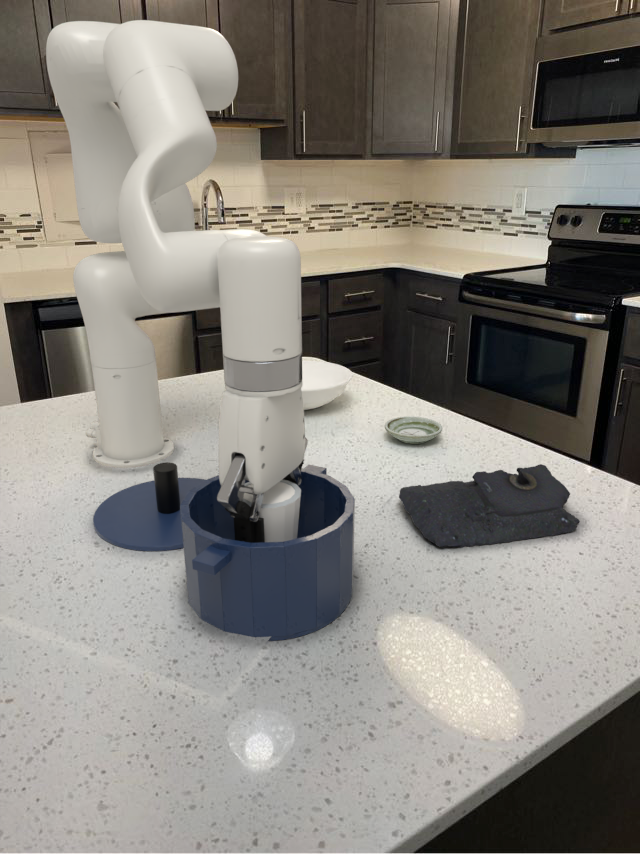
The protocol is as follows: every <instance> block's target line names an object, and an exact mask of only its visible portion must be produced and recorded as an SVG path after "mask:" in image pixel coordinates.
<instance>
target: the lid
mask: <svg viewBox="0 0 640 854" xmlns="http://www.w3.org/2000/svg"><path fill="white" fill-rule="evenodd" d="M152 471H153V473H152V474H153V480H149V481H144V482H141V483H137V484H134V485H132V486H131V485H130V486H128V487H126V488H124V489H121V490H119V491H117V492H116V493H113V494H112V495H110V496H109V497H107V498H106V499H105V500H103V501H102V502H101V503H100V504H99V505H98V507H97V508H96V510H95V512H94V514H93V517H92V523H93V529H94V530H95V533H96V534H97V536H99V537H100V538H101V539H102V540H103V541H105V542H107V543H109V544H110V545H113V546H116V547H118V548H123V549H127V550H133V551H142V552H163V551H173V550H179V549H180V550H181V549H184V546H183V535H182V524H181V512H180V504H181V503H182V501H183V500H184V498H185V496H186V495H187V493H188V492H189V491H190V490H191V489H193V488H194V487H196V486H197V485H199V484H200V483H202V482H203V481H205V480H206V478H198V477H179V474H178V473H179V472H178V465H177V464H176V463H174V462H160V463H156V464H155V465H154V466H153V467H152Z"/></svg>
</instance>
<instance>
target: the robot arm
mask: <svg viewBox="0 0 640 854" xmlns="http://www.w3.org/2000/svg"><path fill="white" fill-rule="evenodd" d="M45 59H46V61H45V62H46V69H47V74H48V78H49V79H48V80H49V83H50V86H51V90H52V92H53V96H54V98H55V100H56V103H57V105H58V108H59V110H60V113H61V115H62V117H63V120H64V122H65V126H66V129H67V133H68V137H69V143H70V152H71V161H72V171H73V172H72V173H73V181H74V190H75V200H76V209H77V216H78V221H79V225H80V227H81V228H80V229H81V231H82V232H83V234H84V236H86V237H87V238H88V239H89V240H91V241H93V242H94V243H95V242H96V243H100V244H122V247H123V250H119V251H106V252H98V253H95V254H90V255H88V256H86V257H84V258H82V259H81V260H80V261H78V263H77V264H76V266H75V268H74V270H73V274H72V281H73V287H74V293H75V295H76V299H77V302H78V305H79V310H80V313H81V316H82V319H83V320H82V321H83V323H84V328H85V333H86V337H87V344H88V350H89V351H88V352H89V359H90V364H91V371H92V379H93V386H94V394H95V401H96V410H97V418H98V420H93V421H92V422H91V423H90V426H89V428H87V429H86V431H85V436H86V437H87V438H91V439H92V438H93V439H96V446H95V447H94V449H93V451H92V459H93V461H94V462H96V463H97V464H98V465H100V466H103V467H108V468H114V469H115V468H116V469H134V468H141V467H146V466H149V465H150V466H151V465H154V464H158V463H159V462H160V463H161V462H162V461H164V460H166V459H168V458H169V457H170V456H172V454H173V453H174V451H175V443H174V442H173V440H172V439H170V438H168V437H166V436H164V429H163V419H162V417H163V416H162V407H161V399H160V387H159V386H160V385H159V375H158V366H157V365H158V364H157V358H156V357H157V355H156V347H155V345H154V342H153V340H152V339H151V337H150V335H148V333H146V331H145V330H143V328H141V326H139V325H138V324H137V322H136V319H137V318H142V317H145V316H153V315H161V314H162V315H163V314H171V313H183V312H192V311H201V310H209V309H218V308H219V309H220V328H221V343H222V344H221V346H222V364H223V365H222V366H223V380H224V381H223V382H224V389H225V390H224V391H222V394H221V399H220V407H219V415H218V416H219V417H218V435H217V442H218V443H217V447H218V448H217V458H218V459H217V460H218V462H217V463H218V475H219V480H220V484H221V488H220V491H219V493H218V496H217V500H218V502H219V503H220V504H221V505H222V506H223V507H224V508H225V510H226V511H228V512H229V513H230V516H231V517H234V533H235V540H237V541H243V542H250V543H260V542H265V537H264V518H260V512H261V507H262V502H263V497H264V492H266V491H267V490H269V489H270V488H272V487H273V486H274V485H276V484H277V483H278V482H280V481H281V480H282V479H283V480H288V481H290V482H292V483H295V484H297V485H298V486H299V485H300V484H301V482H302V476H301V473H300V471H301V468H303V465H304V463H305V462H304V461H305V453H306V450H307V447H308V445H309V440H308V438H307V437H306V424H305V410H304V408H303V398H302V390H301V387H302V385H303V381H302V360H303V331H302V323H303V322H302V260H301V259H302V257H301V252H300V249H299V247H298V245H297V243H295V242H294V241H293V240H291V239H289V238H285V237H279V236H268V235H266V234H265V233H263V232H261V231H259V230H256V229H250V228H234V229H233V228H232V229H206V230H205V229H204V230H196V223H195V222H196V221H195V209H194V202H193V199H192V195H191V192H190V190H189V187H188V185H187V183H189V182H190V181H192V180H193V179H196V178H197V177H198V176H199V175H201V174H202V173H203V172H205V171H206V170H207V169H208V167H210V165H212V163H213V160H214V159H215V157H216V154H217V149H218V141H217V136H216V133H215V131H214V128H213V126H212V124H211V121H210V118H209V116H208V113H207V111H208V112H209V111H211V112H219V111H223V110H226V109H227V108H229V107H230V106H231V104H232V103H233V102H234V100H235V98H236V95H237V92H238V87H239V69H238V62H237V59H236V55H235V53H234V51H233V49H232V46H231V45H230V43H229V42H228V40H227V38H225V36H224V35H222V34H221V33H220V32H219V31H217V30H216V29H213V28H210V27H205V26H200V25H192V24H191V25H190V24H184V23H183V24H182V23H175V22H166V21H159V20H151V19H150V20H148V19H137V20H136V19H135V20H128V21H125V22H123V23H115V22H106V21H105V22H104V21H93V20H75V21H74V20H73V21H72V20H71V21H67V22H62V23H59V24H57V25H56V26H54V27H53V28H52V29H51V31H49V34H48V36H47V40H46V47H45ZM115 103H117V105H116V104H115ZM245 480H248V481H249V482H250V484H253V487H248V486H244V485H245ZM299 488H300V487H299ZM244 493H248V494H252V495H253V498H252V503H251V507H250V506H249V505H248V504H247V503H245V502H243V496H244ZM299 519H300V509H299Z"/></svg>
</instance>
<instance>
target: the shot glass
mask: <svg viewBox="0 0 640 854" xmlns="http://www.w3.org/2000/svg"><path fill="white" fill-rule="evenodd" d="M244 486H248V487H253V484H250V482H247V483H245V485H244ZM252 498H253V495H252V494H248V493H244V496H243V502H245V503H247V504H248V505H249V506H250V507H251V503H252ZM300 498H301V489H300V488H299V487H298V485H297V484H295V483H292V482H290V481H288V480H283V479H282V480H281V481H280V482H278V483H277V484H276V485H274V486H273V487H272V488H270V489H269V490H267V491H266V492H264V497H263V502H262V507H261V512H260V518H264V537H265V542H284V541H288V540H293V539H297V533H298V521H299V509H300Z"/></svg>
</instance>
